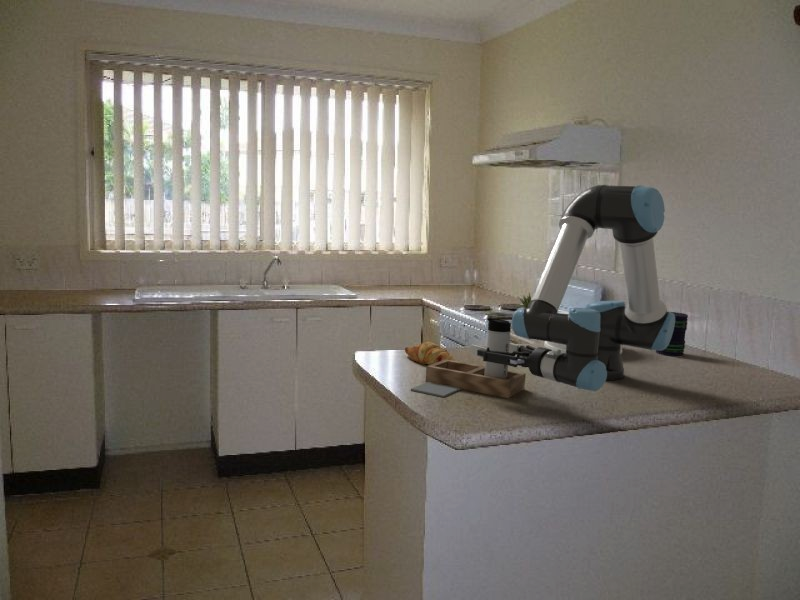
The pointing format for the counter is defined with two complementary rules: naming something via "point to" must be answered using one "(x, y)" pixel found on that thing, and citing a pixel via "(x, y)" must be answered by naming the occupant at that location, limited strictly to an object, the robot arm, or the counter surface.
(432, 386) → the mat
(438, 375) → the wooden divided tray
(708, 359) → the counter surface
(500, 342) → the travel mug
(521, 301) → the house plant
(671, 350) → the storage jar
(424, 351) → the croissant
